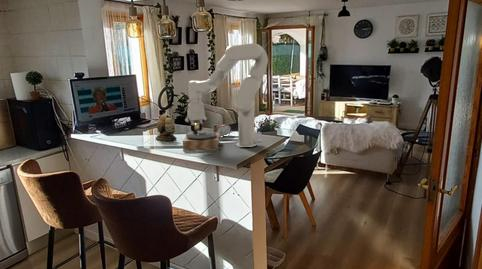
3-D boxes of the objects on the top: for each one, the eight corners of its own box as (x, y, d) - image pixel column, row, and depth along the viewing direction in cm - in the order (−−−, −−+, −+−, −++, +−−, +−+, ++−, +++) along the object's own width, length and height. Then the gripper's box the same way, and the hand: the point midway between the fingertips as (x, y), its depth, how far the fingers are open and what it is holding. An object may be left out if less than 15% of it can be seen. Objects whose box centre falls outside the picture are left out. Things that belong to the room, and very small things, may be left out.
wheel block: (218, 142, 220) (218, 132, 219) (217, 150, 201) (217, 140, 200) (187, 142, 220) (186, 133, 219) (183, 151, 200) (182, 140, 199)
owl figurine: (182, 139, 228) (180, 114, 225) (167, 143, 220) (165, 116, 216) (166, 135, 240) (164, 111, 237) (151, 139, 232) (149, 113, 228)
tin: (228, 134, 241) (227, 122, 239) (231, 135, 239) (231, 123, 237) (213, 139, 229) (212, 126, 228) (216, 139, 227) (216, 127, 226)
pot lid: (221, 136, 206) (221, 126, 205) (193, 140, 197) (193, 129, 195) (208, 131, 221) (207, 121, 220) (181, 135, 212) (181, 124, 210)
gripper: (184, 102, 203) (185, 133, 207) (210, 101, 211) (211, 130, 215) (180, 101, 210) (181, 131, 214) (206, 99, 217) (206, 128, 221)
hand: (196, 130), depth 214 cm, fingers closed on pot lid, 4 cm apart
